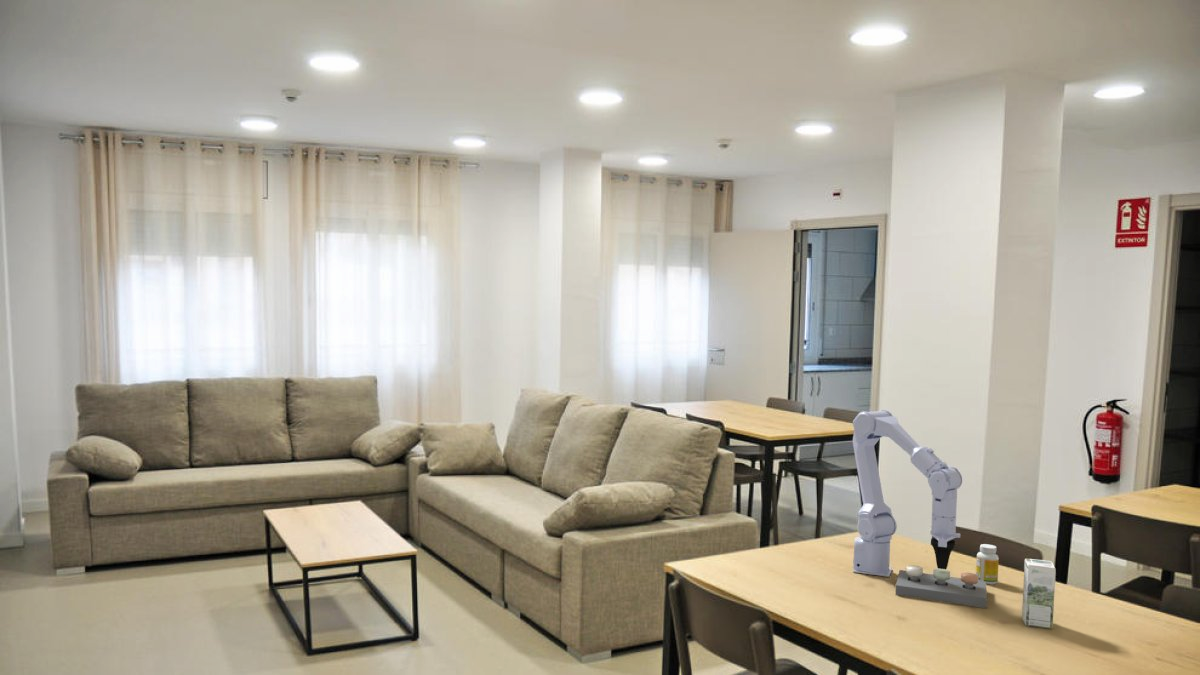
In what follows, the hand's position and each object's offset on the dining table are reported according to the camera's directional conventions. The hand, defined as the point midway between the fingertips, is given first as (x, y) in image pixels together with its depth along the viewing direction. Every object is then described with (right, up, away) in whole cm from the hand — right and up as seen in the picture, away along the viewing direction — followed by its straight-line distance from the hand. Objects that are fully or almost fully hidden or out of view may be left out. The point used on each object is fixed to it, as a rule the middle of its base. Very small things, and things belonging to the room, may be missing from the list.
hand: (942, 568), depth 217 cm
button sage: (0, -4, 0) cm, 4 cm away
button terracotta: (+6, -5, -2) cm, 8 cm away
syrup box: (+14, -8, -20) cm, 26 cm away
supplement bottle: (+16, -7, +11) cm, 21 cm away
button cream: (-6, -4, +3) cm, 8 cm away
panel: (0, -6, 0) cm, 6 cm away
